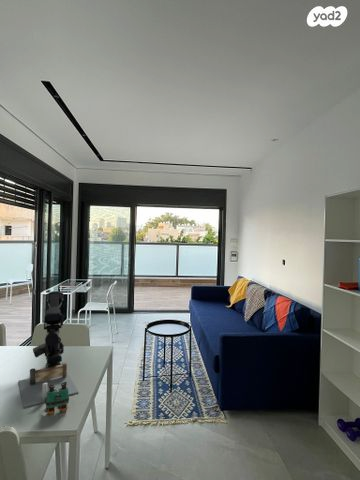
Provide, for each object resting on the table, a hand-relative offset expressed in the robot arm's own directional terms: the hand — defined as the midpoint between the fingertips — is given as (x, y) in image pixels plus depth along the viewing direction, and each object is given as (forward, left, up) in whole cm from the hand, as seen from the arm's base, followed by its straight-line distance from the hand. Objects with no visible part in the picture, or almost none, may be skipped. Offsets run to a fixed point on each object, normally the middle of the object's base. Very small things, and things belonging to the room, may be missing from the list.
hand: (52, 370), depth 139 cm
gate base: (+8, -3, -4) cm, 10 cm away
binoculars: (+26, -3, -4) cm, 27 cm away
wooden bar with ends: (+3, -2, -3) cm, 5 cm away
